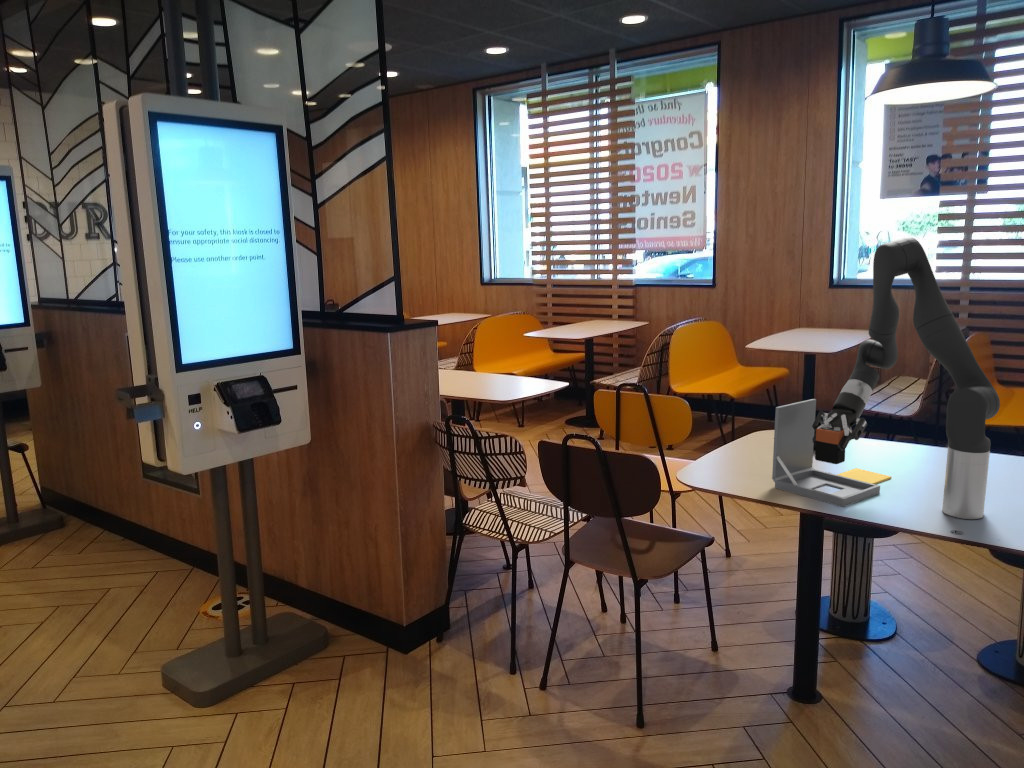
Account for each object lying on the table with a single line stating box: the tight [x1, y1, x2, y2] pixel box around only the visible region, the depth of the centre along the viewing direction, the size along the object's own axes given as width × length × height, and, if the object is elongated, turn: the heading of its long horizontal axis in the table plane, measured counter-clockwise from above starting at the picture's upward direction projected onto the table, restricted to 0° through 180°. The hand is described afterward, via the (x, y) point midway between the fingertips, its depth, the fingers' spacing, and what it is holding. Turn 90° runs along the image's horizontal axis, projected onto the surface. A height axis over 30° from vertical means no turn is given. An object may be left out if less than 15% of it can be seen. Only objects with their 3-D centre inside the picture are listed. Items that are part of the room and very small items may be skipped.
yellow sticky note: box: [836, 467, 892, 485], centre depth 234 cm, size 11×11×1 cm
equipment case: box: [771, 398, 881, 508], centre depth 221 cm, size 18×22×23 cm
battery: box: [814, 424, 846, 465], centre depth 220 cm, size 4×7×10 cm, turn 38°
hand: (827, 446), depth 220 cm, fingers closed on battery, 7 cm apart
